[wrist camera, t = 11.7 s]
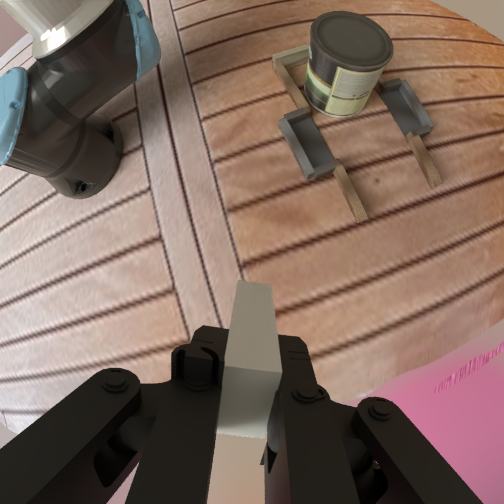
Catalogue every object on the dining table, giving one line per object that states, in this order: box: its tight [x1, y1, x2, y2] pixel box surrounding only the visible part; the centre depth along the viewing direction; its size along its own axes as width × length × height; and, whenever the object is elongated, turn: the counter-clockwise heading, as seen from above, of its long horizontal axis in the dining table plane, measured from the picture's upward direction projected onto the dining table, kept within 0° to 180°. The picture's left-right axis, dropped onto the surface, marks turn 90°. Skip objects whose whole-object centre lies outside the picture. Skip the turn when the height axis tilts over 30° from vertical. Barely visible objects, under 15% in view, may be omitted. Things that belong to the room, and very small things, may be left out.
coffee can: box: [304, 11, 393, 118], centre depth 34 cm, size 10×10×14 cm
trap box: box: [272, 44, 443, 223], centre depth 38 cm, size 28×23×4 cm
